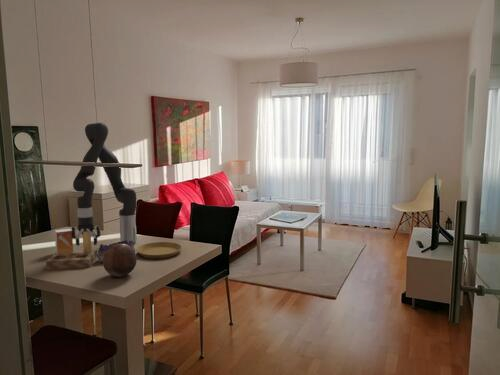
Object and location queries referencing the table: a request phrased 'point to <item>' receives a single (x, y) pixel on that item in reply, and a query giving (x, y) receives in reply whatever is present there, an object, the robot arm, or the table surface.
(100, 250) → the geode
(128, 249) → the wooden sphere
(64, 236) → the small box
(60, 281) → the table surface
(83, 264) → the hole block
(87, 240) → the peg
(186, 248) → the table surface
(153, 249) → the plant saucer
